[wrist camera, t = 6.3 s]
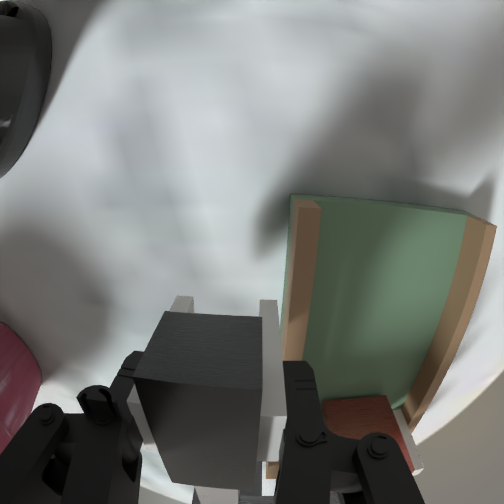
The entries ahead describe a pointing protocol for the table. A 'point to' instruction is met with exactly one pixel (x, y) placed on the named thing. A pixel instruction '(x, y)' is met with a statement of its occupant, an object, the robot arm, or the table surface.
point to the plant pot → (15, 384)
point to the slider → (226, 404)
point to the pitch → (378, 301)
